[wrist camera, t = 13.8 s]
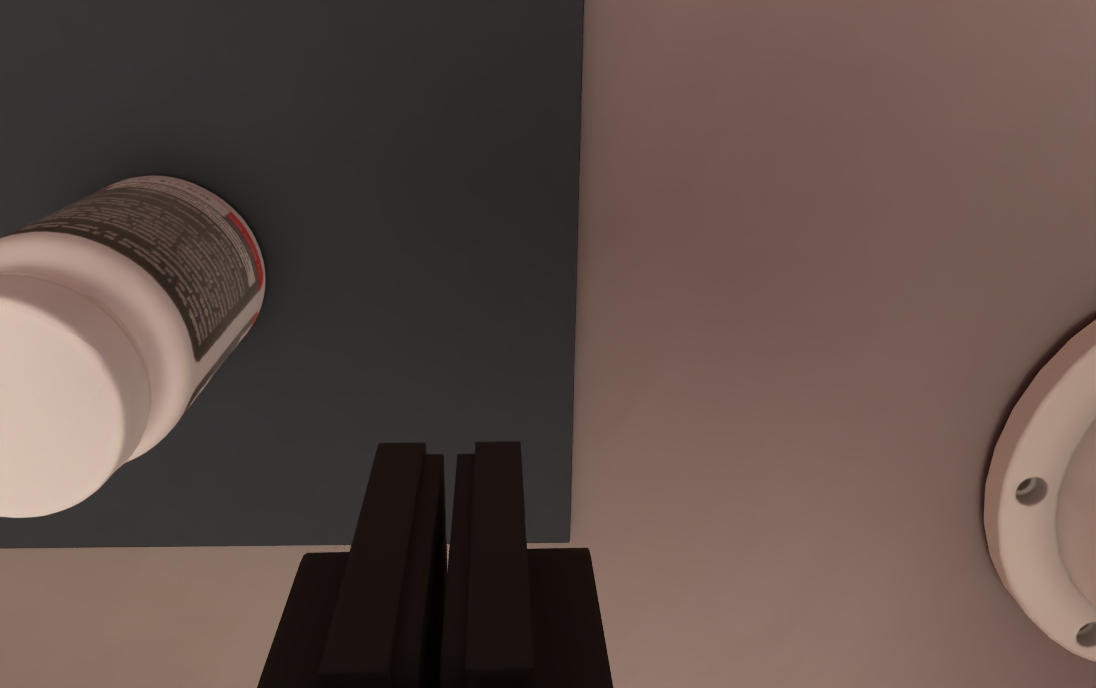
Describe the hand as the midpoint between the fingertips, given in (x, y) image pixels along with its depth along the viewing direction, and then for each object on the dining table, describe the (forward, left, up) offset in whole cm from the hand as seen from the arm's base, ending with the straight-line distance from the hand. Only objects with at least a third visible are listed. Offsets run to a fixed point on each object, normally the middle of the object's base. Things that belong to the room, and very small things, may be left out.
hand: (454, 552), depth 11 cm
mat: (+8, 0, -13) cm, 15 cm away
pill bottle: (+8, 0, -13) cm, 15 cm away
